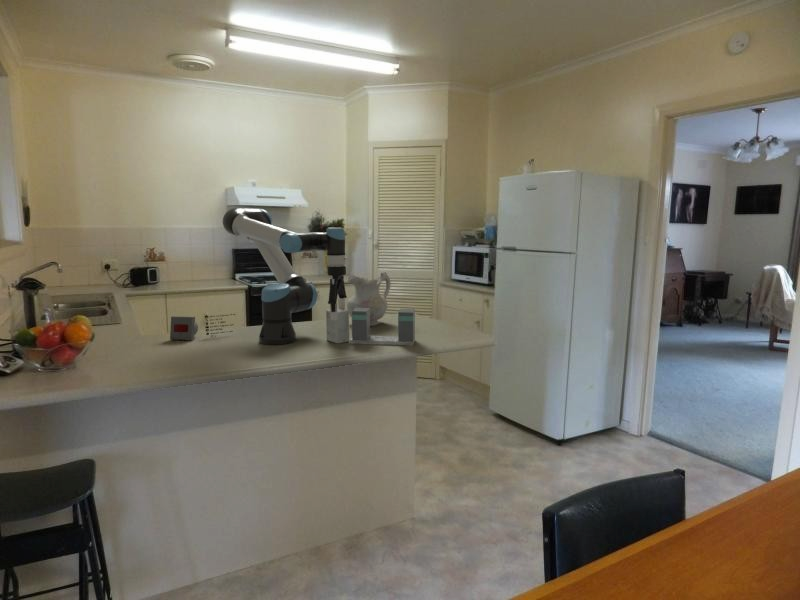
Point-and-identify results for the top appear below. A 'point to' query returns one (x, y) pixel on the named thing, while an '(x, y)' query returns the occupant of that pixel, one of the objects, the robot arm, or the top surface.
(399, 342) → the rail plate
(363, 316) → the block
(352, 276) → the ceramic pitcher
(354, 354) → the top surface
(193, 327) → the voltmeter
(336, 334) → the small box
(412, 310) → the block
